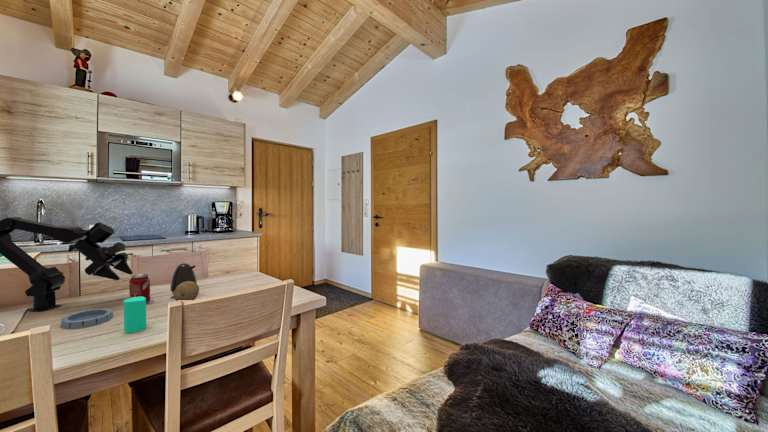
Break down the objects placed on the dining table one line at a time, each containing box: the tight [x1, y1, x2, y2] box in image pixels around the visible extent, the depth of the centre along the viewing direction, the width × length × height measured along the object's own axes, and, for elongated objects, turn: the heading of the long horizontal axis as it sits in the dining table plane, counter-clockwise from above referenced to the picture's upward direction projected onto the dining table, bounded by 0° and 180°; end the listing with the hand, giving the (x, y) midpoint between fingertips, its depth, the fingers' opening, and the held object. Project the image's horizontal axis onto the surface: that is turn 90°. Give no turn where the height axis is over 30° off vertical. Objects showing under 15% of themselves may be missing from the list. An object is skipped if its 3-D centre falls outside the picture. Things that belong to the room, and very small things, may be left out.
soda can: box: [128, 273, 151, 304], centre depth 125 cm, size 7×7×12 cm
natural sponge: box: [172, 281, 200, 302], centre depth 126 cm, size 9×9×10 cm
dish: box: [60, 307, 114, 330], centre depth 107 cm, size 13×13×2 cm
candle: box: [123, 296, 147, 334], centre depth 102 cm, size 6×6×12 cm
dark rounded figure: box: [170, 262, 198, 295], centre depth 136 cm, size 10×10×15 cm
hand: (125, 276), depth 124 cm, fingers open, 9 cm apart
